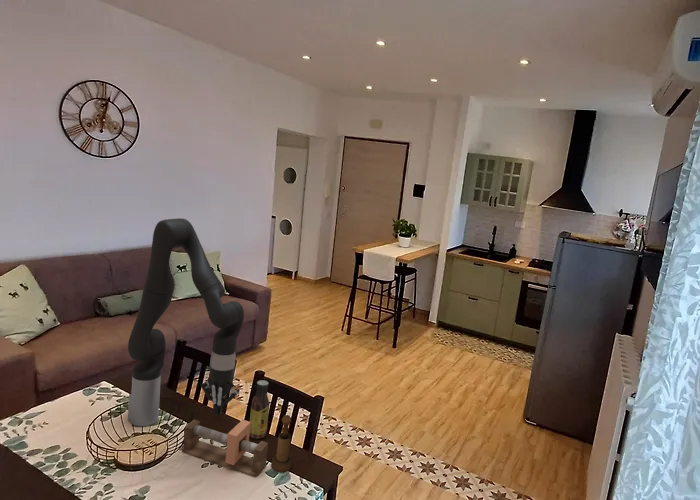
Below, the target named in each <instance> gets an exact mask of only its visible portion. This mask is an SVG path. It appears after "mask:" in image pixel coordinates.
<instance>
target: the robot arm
mask: <svg viewBox="0 0 700 500" xmlns="http://www.w3.org/2000/svg"><path fill="white" fill-rule="evenodd" d="M178 248H182V249H183V250H184V251H185V253H186V254H187V256H188V258H189V261H190V270H191V271H190V272H191V278H192V282H193V285H194V287H195V288H196V290H197V291H198V293H199V294H200V296H201V297H202V299H203V302H204V305H205V308H206V311H207V315H208V318H209V320H210V322H211V324H212V325H213V326H215V327H216V328H217V329H219V330H217V332H215V334H214V336H213V341H212V349H211V350H212V351H211V354H210V362H209V372H208V373H209V374H208V379H207V380H206V381H204V382H203V383H201V384H200V387H201V388H202V390H203V393H204V394H205V396H206V398H207V400H208V401H209V402H210V401H211V402H212V412H213V415H214V416H218V417H219V416H220V415H221V414H222V413H223V411H224V406H226V405H227V404H229V403H230V402H231V401H232V400H234V398H236V397H237V396H238V395H239V394H240V391H239V390H236V389H235V388H234V382H233V381H234V377H235V365H236V359H237V357H236V349H237V348H236V347H237V339H238V336H239V335H240V331H241V328H242V325H243V323H244V318H245V311H244V307H243V306H242V304H241V303H240V302H238V301H236V300H235V301H233V300H232V301H229V302H225V303H223V301H222V299H221V298H222V297H223V296H225V294H226V289H225V287H224V285H223V284H222V282H221V281H220V279H219V277H218V276H217V275H216V273H215V271H214V269H213V268H212V266H211V265H210V261H209V259H208V258H207V255H206V253H205V251H204V249H203V246H202V244H201V241H200V239H199V237H198V235H197V233H196V231H195V228H194V226H193V225H192V223H191V222H190V221H189V220H188V219H186V218H168V219H161V220H160V221H158V222H157V223H156V225H155V227H154V230H153V234H152V242H151V249H150V250H151V252H150V257H149V258H150V260H149V264H148V267H147V268H148V269H147V274H146V277H145V282H144V285H143V290H142V295H141V300H140V303H139V304H140V305H139V308H138V312H137V315H136V318H135V321H134V324H133V327H132V329H131V332H130V335H129V339H128V344H127V349H128V350H127V351H128V355H129V357H130V358H131V360H134V361H138V363H136V364H135V365H134V366H133V368H132V375H131V393H130V394H129V395H128V407H127V420H128V421H130V423H131V424H132V425H133V426H136V427H148V426H152V425H154V424H155V423H157V422H158V420H159V415H160V414H159V413H160V397H161V395H160V394H161V379H162V378H161V375H162V370H163V368H164V365H165V356H166V347H167V346H166V344H167V343H166V337H165V335H164V333H163V332H162V330H160V329H159V328H154V327H155V325H156V323H157V322H158V321H159V319H160V318H161V317H162V316H163V315H164V313H165V312H166V311H167V309H168V308H169V306H170V305H171V303H172V300H173V294H174V292H175V288H176V284H175V279H174V276H173V273H172V270H171V269H170V260H171V255H172V252H173V249H178ZM228 393H229V396H228ZM227 396H228V397H227ZM226 397H227V398H226Z"/></svg>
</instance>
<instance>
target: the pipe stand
mask: <svg viewBox="0 0 700 500" xmlns="http://www.w3.org/2000/svg"><path fill="white" fill-rule="evenodd" d="M200 437H201V438H204V439H208V440H210V441H214V442H216V443H219V444H223V445H225V446H227V437H228V433H224V432H220V431H217V430H215V429H213V428H212V429H211V428H208V427H205V426H202V425H201V421H200V420H197V419H192V421H190V422H189V423H188V424H187V425H185V426H184V434H183V448H182V450H181V453H182V454H185V455H188V456H191V457H193V458H197V459H200V460H203V461H204V462H205V461H206V462H208V463H210V464H211V463H212V464H214V465H217V466H220V467H224V468H227V469H228V470H232V471H236V472H238V473H241V474H244V475H246V476H250V477H253V478H255V477H259V476H260V475H261V473H262V472H263V471H264V470H265V468H267V464H268V463H267V459H268V450H269V442H266V441H263V440H261V441H260V442H259V443H255V442H252V441H250V440H249V441H246V440H243V439H242V440H241V441H240V442H239V449H240V450H244V451H246V453H247V452H248V453H250V454H252V455H253V456H252V457H251V456H247V455H245V454H244V455H243V456H242V457H241V458H240V459H239V460H238V461H237V462H236V463H235V464H234V465H231V464H228V463H225V460H226V448H223V447H221V446H217V445H214V444H211V443H208V442H205V441H202V440H200ZM263 469H264V470H263Z"/></svg>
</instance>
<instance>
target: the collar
mask: <svg viewBox="0 0 700 500" xmlns="http://www.w3.org/2000/svg"><path fill="white" fill-rule="evenodd" d="M250 425H251V422H250V420H249V421H248V420H245V419H242V420H240V422H238V423H237V424H236V425H235V426H234V427H233V428H232V429H231V430H230V431H229V432H227V434H228V437H227V445H226V447H225V449H226V460H225V463H228V464H231V465H234V464H235V463H236V462H237V461H238V460H239V459H240V458H241V457H242V456H243V455H245V454H246V453H247V451H244V450H240V449H239V442H240V441H241V440H242V439H243V440H246V441H250Z"/></svg>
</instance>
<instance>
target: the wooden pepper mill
mask: <svg viewBox="0 0 700 500" xmlns="http://www.w3.org/2000/svg"><path fill="white" fill-rule="evenodd" d="M281 422H282V425H283V427H281V432H280V433H279V434H278V438H277V447H276V454H275V455H274V456H273V457H272V459H271V462H270V468H271V470H272V469H273V470H272V471H274V472H275V471H276V472H275V473H278V472H281V474H285V473H288V472H290V471H291V469H292V466H293V459H292V457H291V456H290V446H291V439H292V437H291V436H292V435H291V433H289V432H290V428H289V426H290V424H291V423H292V417H291V416H290V415H288V414H285V415H283V417H281ZM282 472H283V473H282ZM284 472H285V473H284Z"/></svg>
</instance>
